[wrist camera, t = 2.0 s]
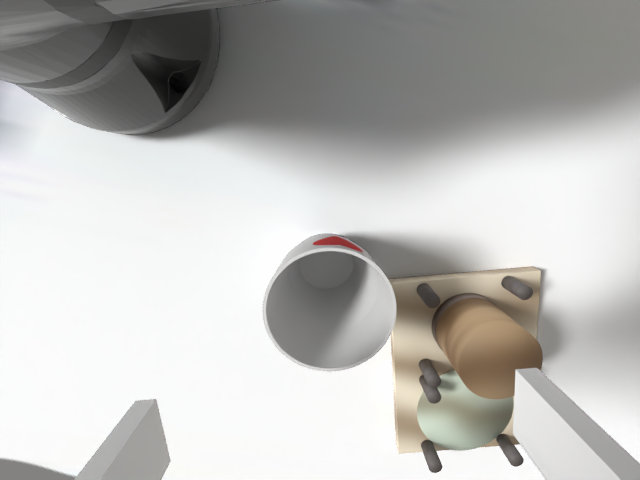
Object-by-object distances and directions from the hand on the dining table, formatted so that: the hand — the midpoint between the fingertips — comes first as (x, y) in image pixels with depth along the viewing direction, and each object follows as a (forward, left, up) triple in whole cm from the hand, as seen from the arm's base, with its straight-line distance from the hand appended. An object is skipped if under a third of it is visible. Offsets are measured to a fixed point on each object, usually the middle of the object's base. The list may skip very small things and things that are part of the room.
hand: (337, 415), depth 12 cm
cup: (0, 0, -18) cm, 18 cm away
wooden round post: (+6, +12, -17) cm, 22 cm away
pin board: (+11, +12, -18) cm, 24 cm away
